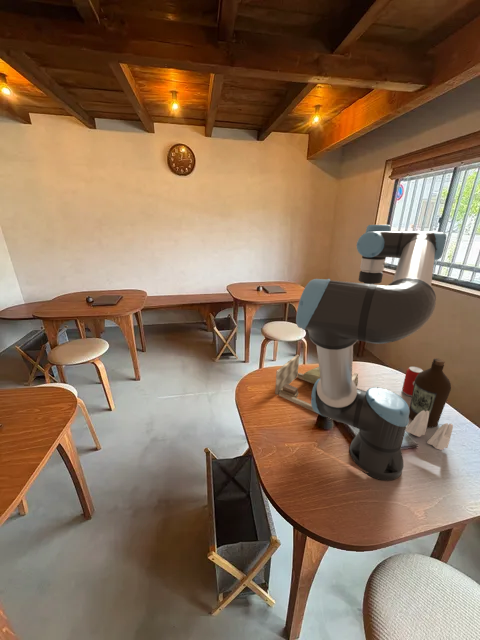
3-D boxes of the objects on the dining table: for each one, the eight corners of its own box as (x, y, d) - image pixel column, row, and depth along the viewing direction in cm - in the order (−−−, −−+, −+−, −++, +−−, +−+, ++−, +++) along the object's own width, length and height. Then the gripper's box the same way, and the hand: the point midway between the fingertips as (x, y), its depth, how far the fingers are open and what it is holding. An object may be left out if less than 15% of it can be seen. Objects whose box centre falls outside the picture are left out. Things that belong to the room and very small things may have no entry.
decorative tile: (303, 370, 118) (323, 359, 133) (301, 382, 120) (321, 370, 135) (344, 387, 107) (361, 373, 121) (342, 400, 108) (358, 384, 123)
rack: (338, 422, 99) (343, 395, 95) (275, 395, 114) (276, 370, 110) (353, 398, 113) (358, 373, 109) (295, 376, 128) (296, 354, 124)
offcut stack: (294, 400, 111) (295, 391, 110) (280, 394, 116) (280, 385, 114) (298, 397, 114) (298, 388, 112) (283, 391, 118) (284, 382, 116)
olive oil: (416, 406, 107) (432, 351, 99) (445, 423, 98) (465, 363, 90) (400, 414, 103) (414, 357, 94) (428, 432, 94) (447, 370, 86)
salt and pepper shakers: (403, 434, 93) (410, 408, 90) (407, 428, 96) (413, 402, 92) (445, 453, 85) (454, 426, 82) (447, 446, 88) (457, 419, 84)
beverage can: (415, 399, 112) (421, 374, 108) (399, 392, 116) (405, 368, 112) (420, 394, 116) (427, 369, 112) (404, 387, 120) (410, 364, 116)
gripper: (378, 275, 85) (366, 342, 92) (387, 268, 99) (376, 327, 107) (353, 273, 89) (344, 337, 97) (365, 267, 103) (356, 323, 111)
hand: (361, 331), depth 102 cm, fingers open, 5 cm apart
